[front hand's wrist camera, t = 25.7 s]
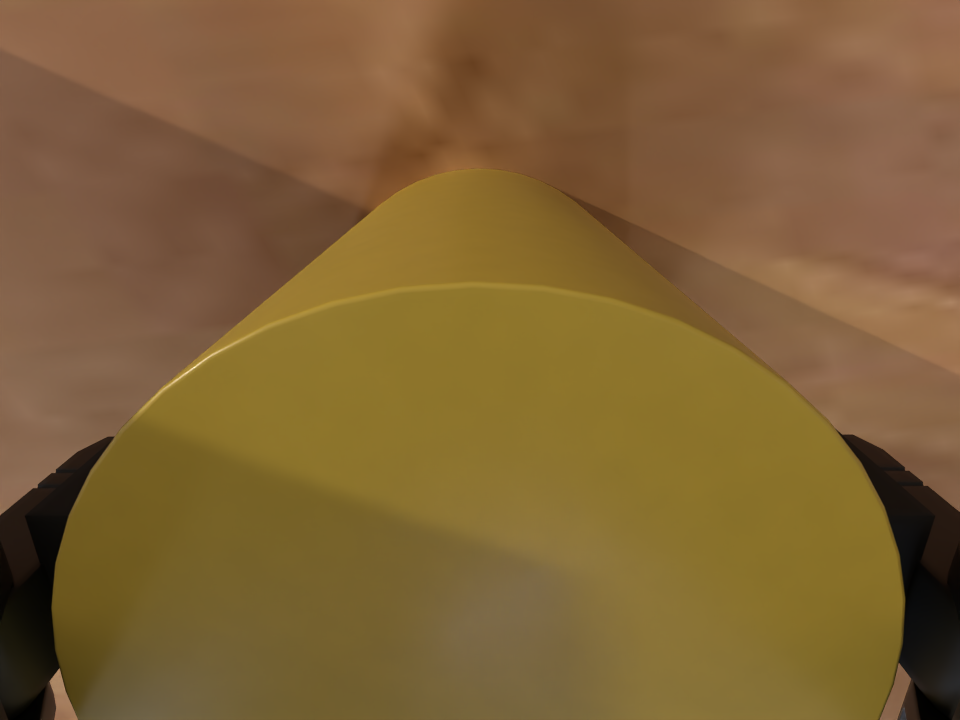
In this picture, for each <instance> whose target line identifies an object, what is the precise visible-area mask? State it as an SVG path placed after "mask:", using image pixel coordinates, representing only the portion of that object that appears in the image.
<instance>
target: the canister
mask: <svg viewBox="0 0 960 720" xmlns="http://www.w3.org/2000/svg"><path fill="white" fill-rule="evenodd" d="M51 608H52V619H53V631H54V642H55V652H56V655H57V659H58V663H59V667H60V671H61V675H62V678H63V682H64V686H65V690H66V693H67V695H68V697H69V700H70V702H71V704H72V706H73V709H74V711H75V713H76V715H77V718H78V720H879V719H880V717H881V714H882V712H883V709H884V707H885V704H886V702H887V699H888V697H889V694H890V692H891V689H892V687H893V685H894V680H895V676H896V672H897V667H898V663H899V658H900V654H901V650H902V645H903V634H904V615H905V593H904V586H903V578H902V570H901V562H900V555H899V551H898V548H897V545H896V542H895V538H894V535H893V532H892V529H891V526H890V523H889V520H888V516H887V513H886V510H885V507H884V505H883V503H882V501H881V499H880V497H879V496H878V494H877V492H876V490H875V488H874V486H873V484H872V482H871V480H870V478H869V477H868V475H867V473H866V471H865V469H864V467H863V465H862V463H861V462H860V460H859V459H858V458H857V457H856V455H855V454H854V453H853V451H852V450H851V449H850V448H849V446H848V445H847V444H846V442H845V441H844V440H843V438H842V437H841V436H840V435H839V433H838V432H837V431H836V429H835V428H834V427H833V425H832V424H831V423H830V422H829V420H828V419H827V418H826V417H824V416H823V415H822V414H821V413H820V412H819V411H818V410H817V409H816V408H815V407H814V406H813V405H812V404H811V403H809V402H808V401H807V400H806V399H805V398H804V397H803V396H802V395H801V394H800V393H799V392H798V391H797V390H796V389H794V388H793V387H792V386H791V385H790V384H789V383H788V382H787V381H786V380H785V379H783V378H782V377H781V376H780V375H779V374H778V373H776V372H775V371H774V370H773V369H772V368H771V367H769V366H768V365H767V364H766V363H765V362H763V361H762V360H761V359H760V358H759V357H758V356H756V355H755V354H754V353H753V352H752V351H750V350H749V349H748V348H747V347H746V346H745V345H743V344H742V343H741V342H740V341H739V340H738V339H736V338H735V337H734V336H733V335H732V334H730V333H729V332H728V331H727V330H726V329H725V328H723V327H722V326H721V325H720V324H719V323H718V322H716V321H715V320H714V319H713V318H712V317H710V316H709V315H708V314H707V313H706V312H705V311H703V310H702V309H701V308H700V307H699V306H698V305H696V304H695V303H694V302H693V301H692V300H690V299H689V298H688V297H687V296H686V295H685V294H683V293H682V292H681V291H680V290H679V289H678V288H676V287H675V286H674V285H673V284H672V283H670V282H669V281H668V280H667V279H666V278H665V277H663V276H662V275H661V274H660V273H659V272H658V271H656V270H655V269H654V268H653V267H652V266H650V265H649V264H648V263H647V262H646V261H645V260H643V259H642V258H641V257H640V256H639V255H637V254H636V253H635V252H634V251H633V250H632V249H630V248H629V247H628V246H627V245H626V244H625V243H623V242H622V241H621V240H620V239H619V238H617V237H616V236H615V235H614V234H613V233H612V232H610V231H609V230H608V229H607V228H606V227H605V226H603V225H602V224H601V223H600V222H599V221H597V220H596V219H595V218H594V217H593V216H592V215H590V214H589V213H588V212H587V211H586V210H585V209H583V208H582V207H581V206H580V205H579V204H577V203H576V202H575V201H574V200H572V199H571V198H569V197H568V196H566V195H565V194H564V193H562V192H561V191H559V190H558V189H556V188H554V187H552V186H550V185H548V184H546V183H544V182H542V181H540V180H537V179H534V178H531V177H528V176H525V175H522V174H519V173H514V172H509V171H504V170H498V169H480V168H476V169H464V170H454V171H450V172H445V173H441V174H436V175H433V176H431V177H428V178H425V179H423V180H420V181H417V182H415V183H413V184H411V185H409V186H407V187H406V188H404V189H402V190H400V191H398V192H397V193H395V194H394V195H393V196H391V197H390V198H388V199H387V200H386V201H384V202H383V203H382V204H380V205H379V206H378V207H377V208H376V209H374V210H373V211H372V212H371V213H370V214H368V215H367V216H366V217H365V218H364V219H362V220H361V221H360V222H359V223H358V224H356V225H355V226H354V227H353V228H352V229H350V230H349V231H348V232H347V233H346V234H345V235H343V236H342V237H341V238H340V239H339V240H337V241H336V242H335V243H334V244H333V245H331V246H330V247H329V248H328V249H327V250H325V251H324V252H323V253H322V254H321V255H319V256H318V257H317V258H316V259H315V260H313V261H312V262H311V263H310V264H309V265H308V266H306V267H305V268H304V269H303V270H302V271H300V272H299V273H298V274H297V275H296V276H294V277H293V278H292V279H291V280H290V281H288V282H287V283H286V284H285V285H284V286H282V287H281V288H280V289H279V290H278V291H276V292H275V293H274V294H273V295H272V296H271V297H269V298H268V299H267V300H266V301H265V302H263V303H262V304H261V305H260V306H259V307H257V308H256V309H255V310H254V311H253V312H251V313H250V314H249V315H248V316H247V317H245V318H244V319H243V320H242V321H241V322H240V323H238V324H237V325H236V326H235V327H234V328H232V329H231V330H230V331H229V332H228V333H226V334H225V335H224V336H223V337H222V338H220V339H219V340H218V341H217V342H216V343H214V344H213V345H212V346H211V347H210V348H208V349H207V350H206V351H205V352H204V353H203V354H201V355H200V356H199V357H198V358H197V359H195V360H194V361H193V362H192V363H191V364H189V365H188V366H187V367H186V368H185V369H183V370H182V371H181V372H180V373H179V374H177V375H176V376H175V377H174V378H173V379H171V380H170V381H169V382H168V383H167V384H166V385H164V386H163V387H162V388H161V389H160V390H159V391H158V392H157V393H156V394H155V395H154V396H153V397H152V398H151V399H150V400H149V401H148V402H147V403H146V404H145V405H144V406H143V407H142V408H141V409H140V410H139V411H138V412H137V413H136V414H135V415H134V416H133V417H132V418H131V419H130V420H129V421H128V422H127V423H126V424H125V425H124V426H123V427H122V428H121V429H120V430H119V432H118V433H117V434H116V436H115V437H114V439H113V440H112V441H111V443H110V444H109V446H108V447H107V448H106V450H105V451H104V452H103V454H102V455H101V457H100V458H99V459H98V461H97V462H96V464H95V465H94V466H93V468H92V469H91V470H90V473H89V475H88V477H87V479H86V481H85V483H84V485H83V487H82V489H81V491H80V493H79V495H78V497H77V499H76V501H75V503H74V506H73V508H72V510H71V512H70V514H69V517H68V520H67V524H66V527H65V531H64V534H63V538H62V542H61V545H60V549H59V552H58V556H57V560H56V563H55V574H54V585H53V596H52V607H51Z"/></svg>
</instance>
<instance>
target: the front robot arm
mask: <svg viewBox="0 0 960 720" xmlns="http://www.w3.org/2000/svg"><path fill="white" fill-rule="evenodd" d="M836 431H837V430H836ZM837 432H838V431H837ZM838 433H839V435H840V436H841V437H842V438H843V440H844V441H845V442H846V444H847V445H848V446H849V448H850V449H851V450H852V451H853V453H854V454H855V455H856V457H857V458H858V459H859V460H860V462H861V463H862V465H863V467H864V469H865V471H866V473H867V475H868V477H869V478H870V480H871V482H872V484H873V486H874V488H875V490H876V492H877V494H878V496H879V497H880V499H881V501H882V503H883V505H884V507H885V510H886V513H887V516H888V520H889V523H890V526H891V529H892V532H893V535H894V538H895V542H896V545H897V548H898V551H899V555H900V562H901V570H902V578H903V586H904V593H905V615H904V634H903V645H902V650H901V654H900V658H899V663H900V664H901V666H902V667H903V668H904V670H905V671H906V672H907V673H908V675H909V676H910V677H911V682H910V685H909V688H908V690H907V693H906V696H905V699H904V702H903V705H902V708H901V711H900V714H899V716H898V719H897V720H960V512H959V511H958V510H956V509H955V508H954V507H953V506H951V505H950V504H949V503H948V502H947V501H945V500H944V499H943V498H942V497H940V496H939V495H938V494H937V493H936V492H934V491H933V490H932V489H931V488H929V487H928V486H923V482H922V481H921V480H920V479H918V478H917V477H916V476H915V475H914V474H912V473H911V472H910V471H905V467H904V466H902V465H901V464H900V463H899V462H898V461H896V460H895V459H894V458H893V457H891V456H890V455H889V454H888V453H887V452H885V451H884V450H883V449H881V448H879V447H877V446H875V445H873V444H871V443H869V442H867V441H865V440H863V439H860V438H858V437H856V436H854V435H842V434H841V433H840V432H838ZM113 439H114V437H106V438H104V439H102V440H100V441H98V442H96V443H94V444H92V445H90V446H88V447H86V448H84V449H82V450H80V451H78V452H77V453H76V454H74V455H73V456H72V457H71V458H69V459H68V460H67V461H66V462H65V463H63V464H62V465H61V466H60V467H59V468H57V469H56V473H51V474H50V475H49V476H48V477H46V478H45V479H44V480H43V481H42V482H40V483H39V484H38V488H33V489H32V490H31V491H29V492H28V493H27V494H26V495H25V496H23V497H22V498H21V499H20V500H18V501H17V502H16V503H15V504H14V505H12V506H11V507H10V508H9V509H8V510H6V511H5V512H4V513H3V514H1V515H0V720H54V717H55V711H56V704H55V698H54V693H53V690H52V688H51V685H50V682H49V681H50V680H51V678H52V677H53V676H54V674H55V673H56V672H57V671H58V669H59V668H60V667H59V663H58V659H57V655H56V652H55V642H54V631H53V619H52V608H51V607H52V596H53V585H54V574H55V563H56V560H57V556H58V552H59V549H60V545H61V542H62V538H63V534H64V531H65V527H66V524H67V520H68V517H69V514H70V512H71V510H72V508H73V506H74V503H75V501H76V499H77V497H78V495H79V493H80V491H81V489H82V487H83V485H84V483H85V481H86V479H87V477H88V475H89V473H90V470H91V469H92V468H93V466H94V465H95V464H96V462H97V461H98V459H99V458H100V457H101V455H102V454H103V452H104V451H105V450H106V448H107V447H108V446H109V444H110V443H111V441H112V440H113Z"/></svg>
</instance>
